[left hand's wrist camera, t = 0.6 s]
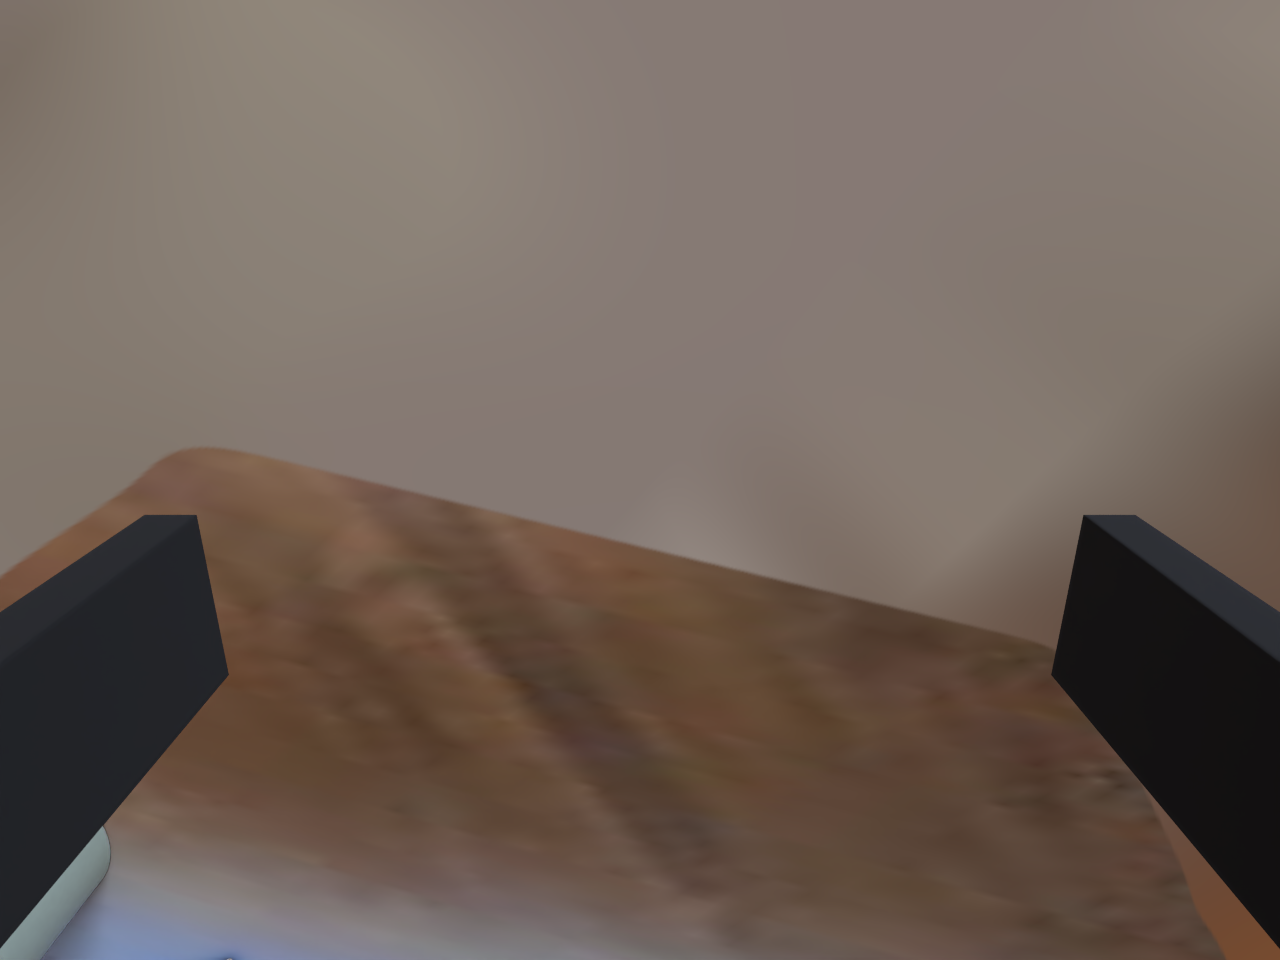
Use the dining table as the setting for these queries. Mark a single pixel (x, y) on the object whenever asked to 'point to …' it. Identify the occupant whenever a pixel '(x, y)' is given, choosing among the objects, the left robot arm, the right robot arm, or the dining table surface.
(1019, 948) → the dining table surface
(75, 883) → the jar
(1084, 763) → the dining table surface
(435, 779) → the dining table surface
